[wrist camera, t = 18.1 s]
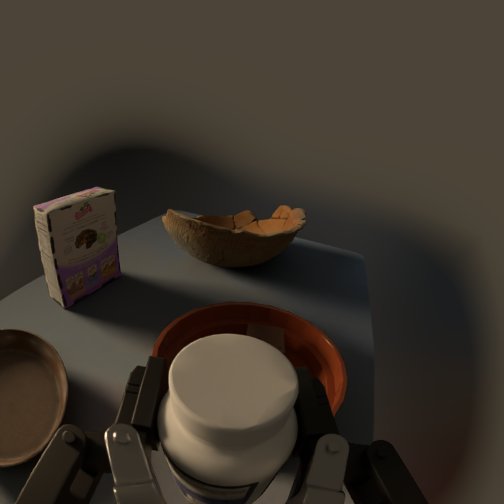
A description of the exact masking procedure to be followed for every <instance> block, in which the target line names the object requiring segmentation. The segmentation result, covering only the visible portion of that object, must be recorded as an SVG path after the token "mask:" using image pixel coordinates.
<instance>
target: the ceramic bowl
mask: <svg viewBox="0 0 504 504" xmlns="http://www.w3.org/2000/svg"><path fill="white" fill-rule="evenodd" d="M305 215H306V212H305V211H304V210H303V209H301V208H296V209H294V210H293V209H292V208H291V207H288V206H285V205H282V206H279V208H278V209H277V210H276V211H275V213H274V214H273V215H272V217H271V218H270V219H269V220H257V217H256V216H255V215H254V214H252V213H251V212H250V211H249V210H247V211H244V212H242V213H239V214H237V215H235V216H199V217H196V218H191V217H188V216H186V215H183V214H180V213H178V212H175V211H173V210H171V209H168V212H167V215H166V216H163V217H162V220H163V224H164V226H165V228H166V230H167V232H168V233H169V235H170V236H171V237H172V239H173V240H174V241H175V242H176V244H177V245H178V246H180V247H181V248H182V249H183V250H185V251H186V252H187V253H188V254H190V255H192V256H193V257H195V258H197V259H199V260H201V261H203V262H206V263H209V264H212V265H217V266H222V267H231V268H233V267H245V266H253V265H258V264H262V263H264V262H266V261H268V260H270V259H272V258H274V257H275V256H277V255H278V254H280V253H281V252H283V251H284V249H286V248H287V247H288V245H289V244H290V243H291V242H292V240H293V239H294V237H295V235H296V234H297V232H298V231H299V230H301V229H302V228H303V227H304V226H305V225H306V221H305V220H304V219H305Z"/></svg>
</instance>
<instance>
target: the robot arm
mask: <svg viewBox="0 0 504 504" xmlns="http://www.w3.org/2000/svg"><path fill="white" fill-rule="evenodd" d="M294 369H295V371H296V374H297V378H298V395H297V398H296V401H295V404H294V406H293V407H294V409H295V412H296V415H297V420H298V436H297V440H296V443H295V446H294V449H293V451H292V458H293V457H300V462H301V464H300V465H299V467H298V470H297V474H296V477H295V480H294V483H293V486H292V488H291V491H290V494H289V497H288V499H287V501H286V503H285V504H344V500H345V493H344V492H343V491H342V485H343V482H344V484H345V486H346V488H347V490H348V492H349V494H350V496H351V498H352V500H353V502H354V504H428V502H427V500H426V499H425V497H424V495H423V494H422V492H421V490H420V489H419V487H418V486H417V484H416V482H415V481H414V479H413V477H412V476H411V474H410V473H409V471H408V469H407V468H406V466H405V464H404V463H403V461H402V460H401V458H400V456H399V455H398V453H397V452H396V450H395V448H394V447H393V445H392V444H390V443H389V442H387V441H384V440H377V441H374V442H372V443H371V444H370V445H361V444H354V443H350V442H348V441H346V440H345V439H344V438H343V437H342V436H340V434H339V433H338V430H337V427H336V423H335V420H334V416H333V413H332V410H331V406H330V405H329V399H328V397H327V393H326V389H325V386H324V385H323V384H322V383H321V381H320V380H319V379H318V378H311V377H310V373H309V369H308V368H307V367H294ZM168 390H169V375H168V366H167V359H166V358H161V357H155V356H150V357H149V359H148V362H147V365H146V367H143V366H137V367H136V368H135V369H134V370H133V371H132V372H131V373H130V376H129V379H128V382H127V385H126V389H125V392H124V395H123V398H122V402H121V405H120V408H119V412H118V415H117V419H116V421H115V423H114V424H113V425H112V426H111V427H109V428H108V429H106V430H103V431H83V430H82V429H81V428H80V427H78V426H76V425H73V424H66V425H63V426H61V427H60V428H59V429H58V430H57V431H56V433H55V435H54V436H53V438H52V439H51V441H50V443H49V444H48V446H47V447H46V449H45V451H44V452H43V454H42V456H41V457H40V459H39V461H38V463H37V464H36V466H35V468H34V469H33V471H32V473H31V475H30V476H29V478H28V480H27V482H26V484H25V485H24V487H23V489H22V491H21V493H20V495H19V496H18V498H17V500H16V502H15V504H89V502H90V500H91V498H92V496H93V494H94V492H95V489H96V487H97V485H98V483H99V481H100V479H101V477H102V475H103V473H112V474H113V478H114V486H113V489H114V494H115V498H116V501H117V504H167V503H166V501H165V499H164V497H163V495H162V492H161V490H160V487H159V484H158V482H157V479H156V476H155V473H154V470H153V467H152V464H151V461H150V459H151V453H152V450H156V451H158V450H159V443H160V438H159V435H158V430H157V413H158V408H159V405H160V402H161V400H162V399H163V397H164V395H165V394H166V392H167V391H168Z"/></svg>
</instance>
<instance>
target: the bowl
mask: <svg viewBox="0 0 504 504" xmlns="http://www.w3.org/2000/svg"><path fill="white" fill-rule="evenodd" d="M248 324H252V325H260V326H269V327H278V328H283V329H284V343H285V356H286V357H287V359H288V360H289V361H290V362H291V364H292V365H293V367H307V368H308V369H309V373H310V377H311V378H318V379H319V380H320V381H321V383H322V384H323V385H324V386H325V389H326V393H327V397H328V399H329V405H330V406H331V410H332V413H333V416H335V414H336V413H337V411H338V409H339V408H340V406H341V405H342V403H343V401H344V398H345V394H346V388H347V383H348V379H347V373H346V367H345V362H344V360H343V358H342V356H341V354H340V352H339V350H338V348H337V347H336V346H335V344H334V343H333V342H332V341H331V340H330V339H329V338H328V336H327V335H326V334H325V333H324V332H323V331H321V330H320V329H319V328H317V327H316V326H315V325H313V324H312V323H311V322H309V321H307V320H305V319H303V318H301V317H299V316H297V315H295V314H293V313H291V312H289V311H286V310H283V309H279V308H276V307H273V306H269V305H263V304H257V303H251V302H225V303H217V304H210V305H207V306H204V307H200V308H197V309H193V310H191V311H189V312H187V313H185V314H184V315H182V316H180V317H178V318H176V319H175V320H174V321H173V322H172V323H171V324H170V325H169V326H167V327H166V328H165V329H164V330H163V331H162V333H161V335H160V336H159V338H158V340H157V342H156V343H155V345H154V347H153V352H152V356H155V357H161V358H166V359H167V366H168V375H169V370H170V367H171V364H172V362H173V360H174V359H175V357H176V356H177V354H178V353H179V352H180V351H181V350H182V349H183V348H184V347H186V346H187V345H189V344H190V343H192V342H194V341H196V340H198V339H200V338H204V337H207V336H211V335H218V334H238V335H245V336H246V333H247V327H248ZM291 457H292V453H291V454H290V456H289V458H291Z"/></svg>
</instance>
